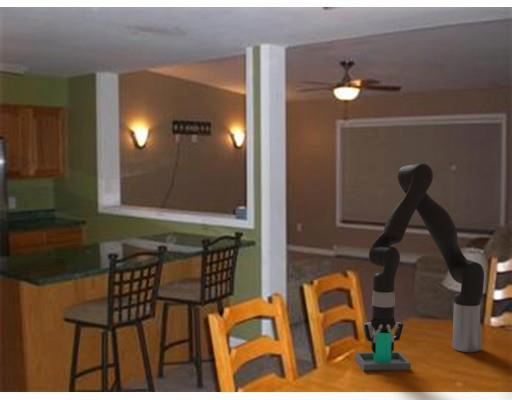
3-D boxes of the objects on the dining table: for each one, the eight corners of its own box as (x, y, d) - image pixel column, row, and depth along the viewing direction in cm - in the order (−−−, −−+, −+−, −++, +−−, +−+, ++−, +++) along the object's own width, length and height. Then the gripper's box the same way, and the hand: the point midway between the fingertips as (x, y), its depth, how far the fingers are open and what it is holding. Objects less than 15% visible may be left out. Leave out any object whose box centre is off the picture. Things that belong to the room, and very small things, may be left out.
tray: (399, 358, 221) (399, 351, 221) (410, 370, 209) (410, 363, 209) (355, 359, 220) (355, 352, 220) (363, 371, 208) (363, 364, 208)
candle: (390, 357, 217) (390, 323, 216) (392, 363, 211) (392, 328, 211) (372, 357, 218) (373, 323, 217) (374, 362, 212) (374, 328, 211)
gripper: (400, 300, 217) (399, 348, 219) (360, 301, 216) (359, 349, 218) (407, 306, 210) (406, 355, 211) (365, 306, 209) (364, 356, 210)
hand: (382, 352), depth 214 cm, fingers closed on candle, 4 cm apart
